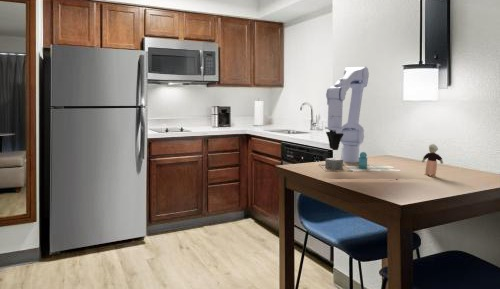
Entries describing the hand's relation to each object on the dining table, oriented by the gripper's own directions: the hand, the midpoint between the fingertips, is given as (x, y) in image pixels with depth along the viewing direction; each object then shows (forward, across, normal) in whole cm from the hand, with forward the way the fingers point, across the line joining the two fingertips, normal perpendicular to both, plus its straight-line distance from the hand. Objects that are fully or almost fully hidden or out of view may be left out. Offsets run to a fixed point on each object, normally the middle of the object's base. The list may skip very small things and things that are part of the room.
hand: (333, 149), depth 161 cm
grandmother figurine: (+9, +11, +36) cm, 39 cm away
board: (+9, +1, +10) cm, 13 cm away
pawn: (+8, +1, +12) cm, 14 cm away
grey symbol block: (+9, +1, 0) cm, 9 cm away
